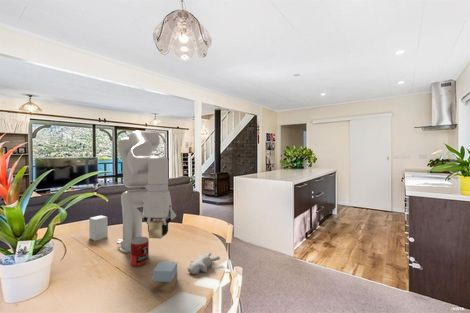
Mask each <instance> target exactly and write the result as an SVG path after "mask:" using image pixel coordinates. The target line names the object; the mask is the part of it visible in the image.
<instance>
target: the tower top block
mask: <svg viewBox="0 0 470 313" xmlns="http://www.w3.org/2000/svg"><path fill="white" fill-rule="evenodd" d="M176 273H177V274H178V262H175V261H174V262H173V261H172V262H170V261H169V262H168V261H159V262H158V264H157V265H156V267H155V268H154V269H153V271H152V280H153V282H172V280H173V279H174V277H175V275H176Z"/></svg>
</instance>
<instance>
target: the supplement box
mask: <svg viewBox="0 0 470 313" xmlns="http://www.w3.org/2000/svg"><path fill="white" fill-rule="evenodd" d="M108 233H109V232H108V216H105V215H102V214H101V215H97V216H91V217H89V239H91V240H93V241H95V242H96V241H100V240H103V239H106V238H108V235H109V234H108Z"/></svg>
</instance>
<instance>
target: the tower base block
mask: <svg viewBox="0 0 470 313" xmlns="http://www.w3.org/2000/svg"><path fill="white" fill-rule="evenodd" d="M177 282H178V272H177V273H176V275H175V277H174V279H173V280H172V282H153V279H152V280H151V282H150V293H173V292H174V289H175V286H176V284H177Z"/></svg>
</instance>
